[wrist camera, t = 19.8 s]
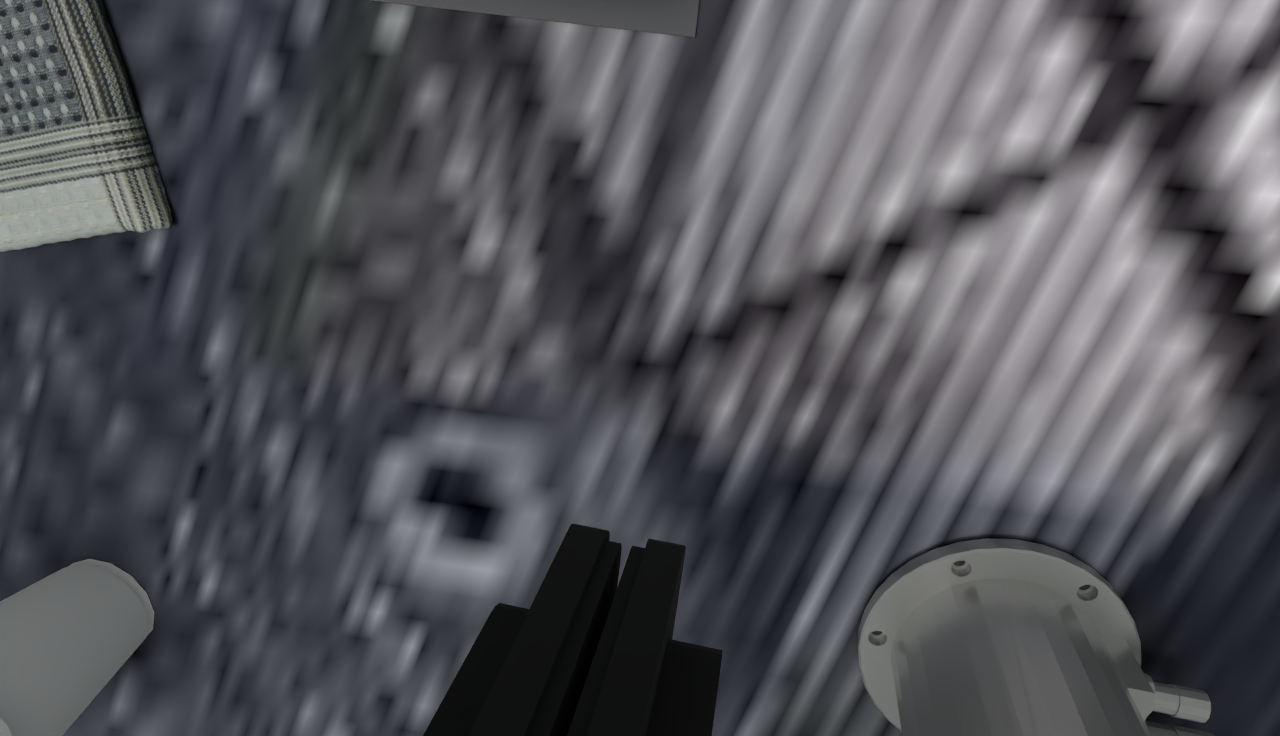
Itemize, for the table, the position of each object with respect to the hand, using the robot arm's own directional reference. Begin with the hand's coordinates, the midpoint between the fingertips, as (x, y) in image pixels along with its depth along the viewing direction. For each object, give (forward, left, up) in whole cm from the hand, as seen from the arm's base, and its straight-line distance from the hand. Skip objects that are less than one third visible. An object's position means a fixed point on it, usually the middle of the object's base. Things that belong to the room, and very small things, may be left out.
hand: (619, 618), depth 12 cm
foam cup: (+35, +28, -25) cm, 51 cm away
